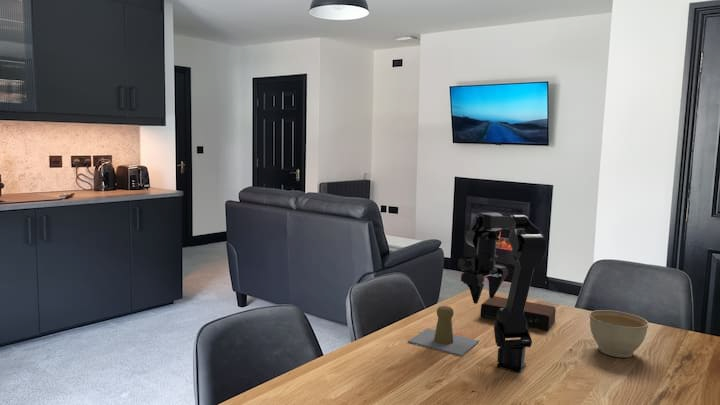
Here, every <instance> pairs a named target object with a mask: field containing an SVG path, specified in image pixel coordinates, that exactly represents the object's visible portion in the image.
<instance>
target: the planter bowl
mask: <svg viewBox="0 0 720 405" xmlns="http://www.w3.org/2000/svg"><path fill="white" fill-rule="evenodd" d="M589 328H590V332H591V334H592V337H593V339H594V341H595V343H596V345H597V348H598V351H600V352H601V353H602V354H605V355H607V356H611V357H614V358H615V357H616V358H631V357H632V356H633V355H634V353H635V351H637V349H639V348H640V346H641V345H642V344H643V343H644V340H645V339H646V336H647V331H648V328H649V321H647V320H646V319H645V318H643V317H641V316H638V315H636V314H632V313H628V312H623V311H618V310H611V309H610V310H608V309H607V310H606V309H605V310H604V309H598V310H592V311H591V312H589Z"/></svg>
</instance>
